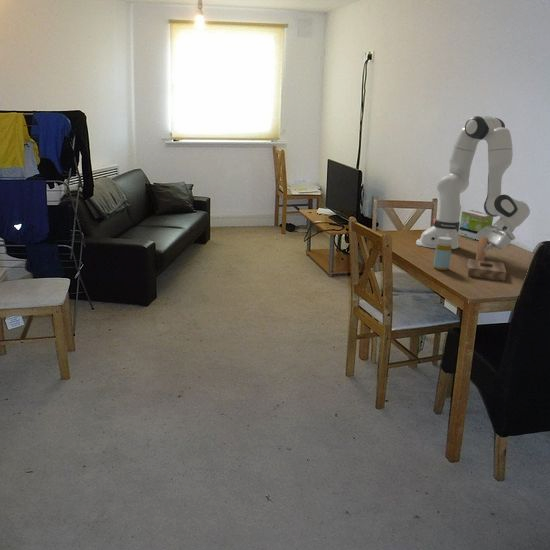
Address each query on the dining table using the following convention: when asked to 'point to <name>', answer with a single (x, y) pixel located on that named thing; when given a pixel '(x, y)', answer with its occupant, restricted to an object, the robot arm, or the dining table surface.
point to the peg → (481, 245)
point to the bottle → (442, 253)
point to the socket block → (486, 269)
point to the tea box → (473, 223)
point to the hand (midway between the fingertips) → (480, 249)
